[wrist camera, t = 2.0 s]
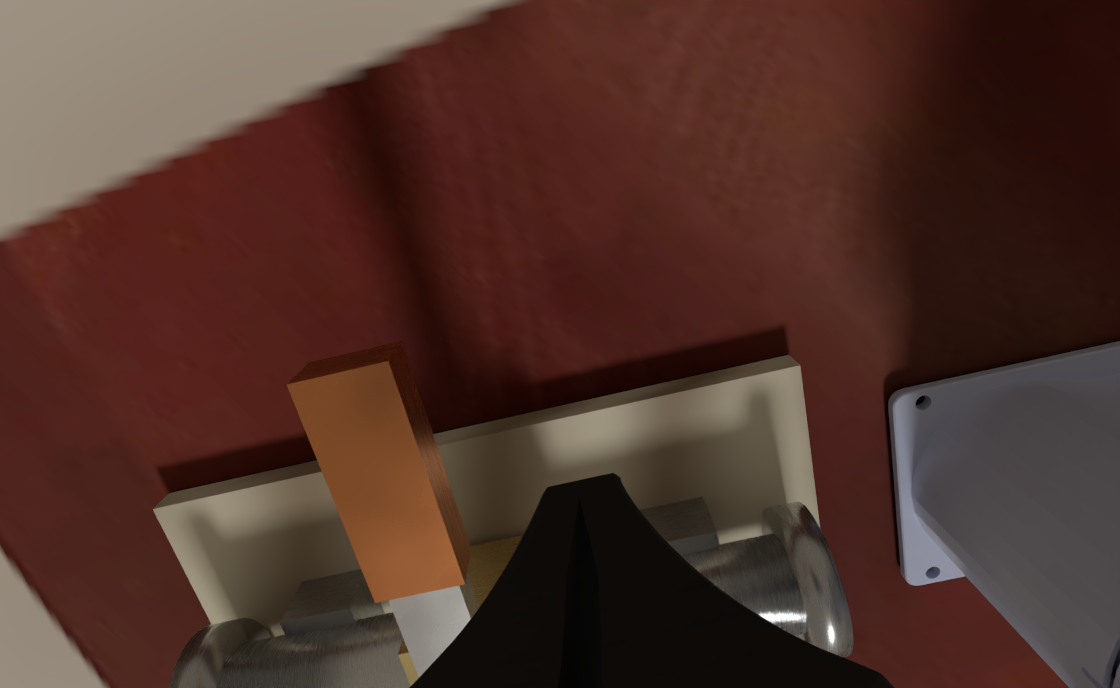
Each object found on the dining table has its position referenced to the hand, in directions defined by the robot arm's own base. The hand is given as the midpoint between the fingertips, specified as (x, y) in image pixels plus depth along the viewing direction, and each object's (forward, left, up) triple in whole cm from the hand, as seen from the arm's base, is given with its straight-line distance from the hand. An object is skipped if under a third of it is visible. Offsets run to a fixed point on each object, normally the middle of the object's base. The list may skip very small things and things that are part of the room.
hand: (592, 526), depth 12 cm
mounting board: (+4, +8, -10) cm, 13 cm away
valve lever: (+4, +3, -3) cm, 6 cm away
